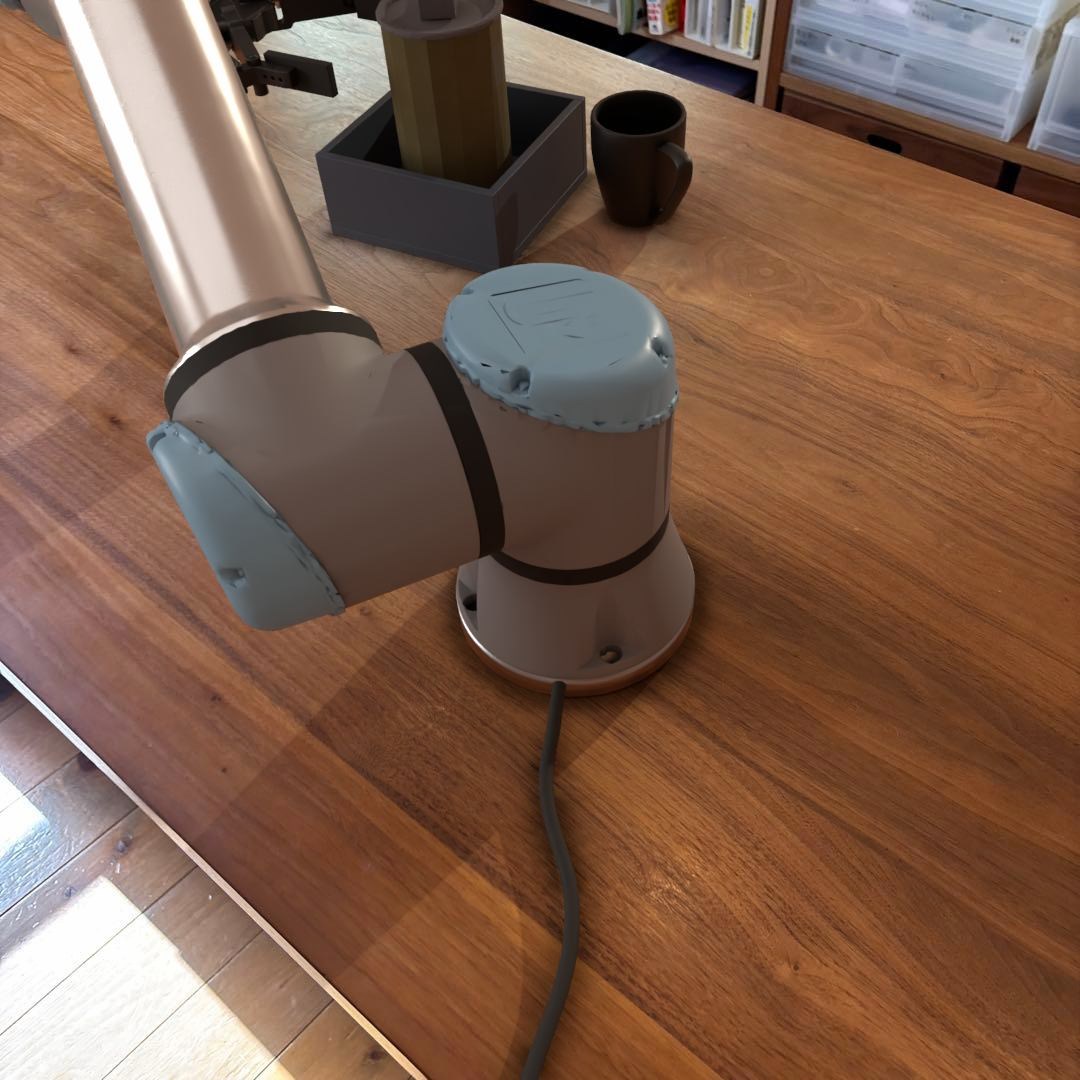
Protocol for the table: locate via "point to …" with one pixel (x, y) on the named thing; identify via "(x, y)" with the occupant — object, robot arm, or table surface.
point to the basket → (456, 185)
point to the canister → (448, 87)
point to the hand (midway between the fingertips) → (377, 44)
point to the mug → (640, 156)
